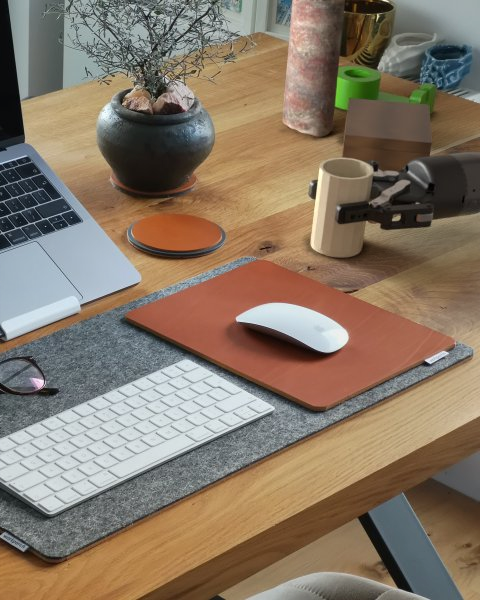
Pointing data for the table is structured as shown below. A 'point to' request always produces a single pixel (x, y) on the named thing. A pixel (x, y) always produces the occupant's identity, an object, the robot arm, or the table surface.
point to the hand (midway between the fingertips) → (323, 202)
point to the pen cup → (332, 192)
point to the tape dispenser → (375, 88)
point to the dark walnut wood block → (387, 132)
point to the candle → (313, 65)
